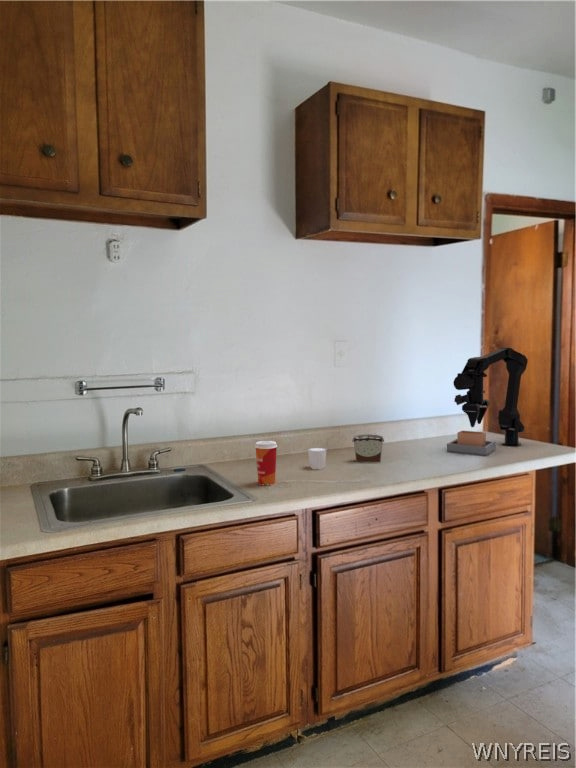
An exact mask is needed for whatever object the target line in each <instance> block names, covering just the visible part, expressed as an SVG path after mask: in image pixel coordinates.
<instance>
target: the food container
mask: <svg viewBox="0 0 576 768" xmlns="http://www.w3.org/2000/svg"><path fill="white" fill-rule="evenodd" d="M352 443H353V445H354V456H355V463H360V462H382V461H381V460H382V451H383V443H385V438H384V436H382V435H380V434H379V435H378V434H371V433H370V434H357V435H354V436H353V438H352Z"/></svg>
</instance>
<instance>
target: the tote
mask: <svg viewBox="0 0 576 768" xmlns="http://www.w3.org/2000/svg"><path fill="white" fill-rule="evenodd" d="M456 439H457V444H460V445H470V446H480V447H485V446H486V441H487V432H483V431H482V432H481V431H470V430H460V431H458V432H457V438H456Z"/></svg>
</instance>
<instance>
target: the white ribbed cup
mask: <svg viewBox="0 0 576 768" xmlns="http://www.w3.org/2000/svg"><path fill="white" fill-rule="evenodd" d="M307 451H308V453H307V454H308V462H309V468H310V467H311V468H317V469H319V468H324V467H325V468H326V459H327V458H326V457H327V448H324V447H312V448H308V449H307ZM311 468H310V469H311ZM325 468H324V469H325ZM319 470H320V469H319Z"/></svg>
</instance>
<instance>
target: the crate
mask: <svg viewBox="0 0 576 768" xmlns="http://www.w3.org/2000/svg"><path fill="white" fill-rule="evenodd" d="M495 451H496V441H490V440H489V441H488V440H486V446H485V447H480V446H470V445H460V444H457V438H455V439H454V440H451V441H450V442H448V443H446V452H447V453H451V454H452V453H453V454H460V455H461V454H462V455H463V454H464V455H470V456H480V457H481V456H482V457H487V456H489V455H490V454H492V453H493V452H495Z"/></svg>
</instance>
